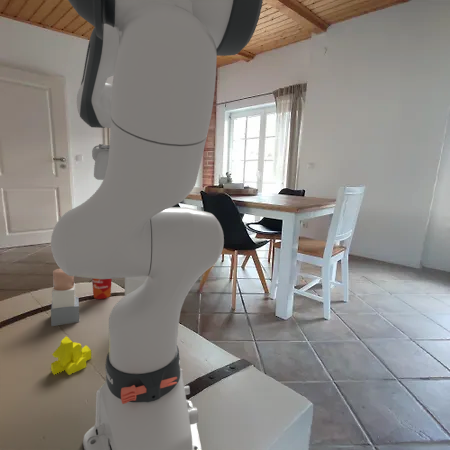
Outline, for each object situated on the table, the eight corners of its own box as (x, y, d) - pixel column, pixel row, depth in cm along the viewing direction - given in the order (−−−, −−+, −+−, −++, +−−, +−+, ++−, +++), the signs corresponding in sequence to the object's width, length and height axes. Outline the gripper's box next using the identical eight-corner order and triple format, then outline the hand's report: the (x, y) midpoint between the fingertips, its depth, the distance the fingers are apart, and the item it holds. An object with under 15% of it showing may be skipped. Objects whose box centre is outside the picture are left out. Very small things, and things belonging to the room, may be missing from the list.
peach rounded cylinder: (74, 288, 81) (74, 272, 81) (53, 291, 79) (53, 274, 78) (73, 282, 86) (73, 267, 85) (53, 285, 83) (53, 268, 82)
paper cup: (85, 298, 98) (84, 259, 95) (100, 290, 105) (100, 254, 103) (103, 302, 96) (103, 262, 93) (118, 294, 103) (118, 257, 101)
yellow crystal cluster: (95, 363, 65) (95, 332, 64) (58, 380, 59) (57, 346, 58) (84, 352, 69) (83, 322, 68) (47, 367, 63) (46, 335, 62)
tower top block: (74, 306, 82) (74, 289, 81) (52, 308, 79) (51, 291, 78) (75, 298, 86) (75, 283, 86) (54, 300, 84) (54, 284, 83)
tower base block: (79, 322, 82) (78, 306, 82) (51, 326, 79) (50, 310, 78) (78, 311, 88) (78, 296, 88) (52, 315, 85) (52, 300, 84)
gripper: (92, 142, 69) (93, 198, 72) (173, 150, 79) (171, 200, 81) (91, 144, 75) (92, 195, 77) (167, 152, 84) (165, 198, 86)
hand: (133, 198), depth 79 cm, fingers open, 8 cm apart
